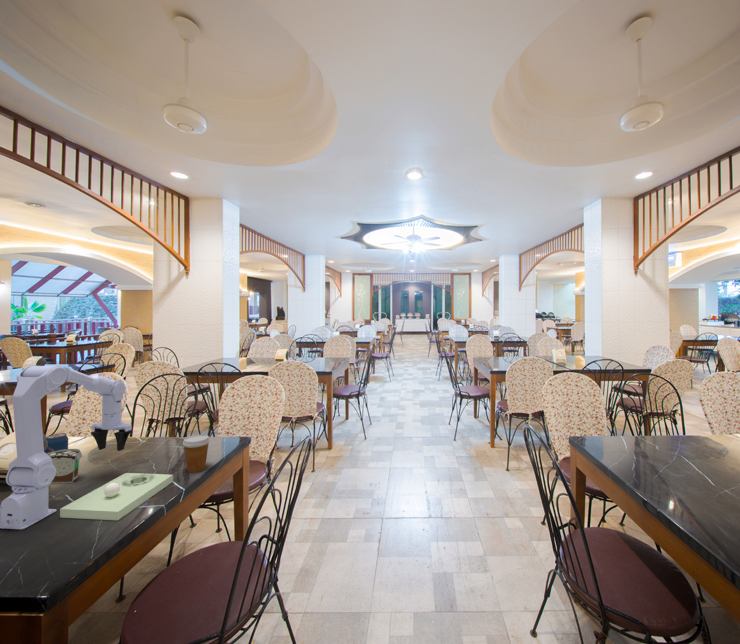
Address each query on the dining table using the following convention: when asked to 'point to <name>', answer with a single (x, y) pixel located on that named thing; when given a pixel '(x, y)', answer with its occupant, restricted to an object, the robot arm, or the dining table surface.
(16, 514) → the robot arm
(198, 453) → the disposable coffee cup
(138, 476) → the putting deck
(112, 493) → the ball
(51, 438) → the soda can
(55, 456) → the food container
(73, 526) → the dining table surface
